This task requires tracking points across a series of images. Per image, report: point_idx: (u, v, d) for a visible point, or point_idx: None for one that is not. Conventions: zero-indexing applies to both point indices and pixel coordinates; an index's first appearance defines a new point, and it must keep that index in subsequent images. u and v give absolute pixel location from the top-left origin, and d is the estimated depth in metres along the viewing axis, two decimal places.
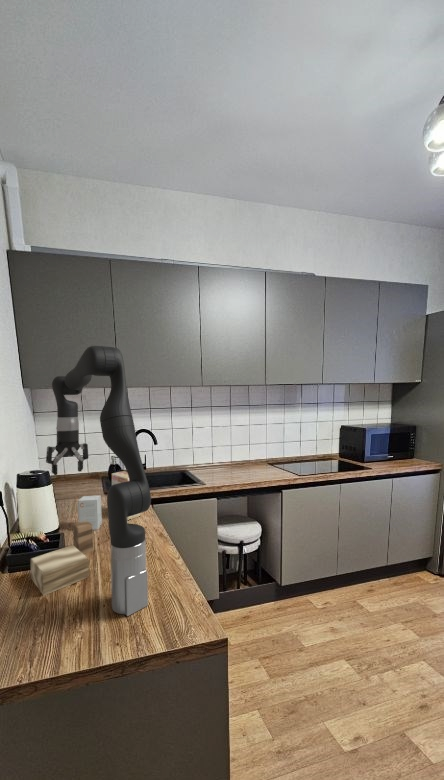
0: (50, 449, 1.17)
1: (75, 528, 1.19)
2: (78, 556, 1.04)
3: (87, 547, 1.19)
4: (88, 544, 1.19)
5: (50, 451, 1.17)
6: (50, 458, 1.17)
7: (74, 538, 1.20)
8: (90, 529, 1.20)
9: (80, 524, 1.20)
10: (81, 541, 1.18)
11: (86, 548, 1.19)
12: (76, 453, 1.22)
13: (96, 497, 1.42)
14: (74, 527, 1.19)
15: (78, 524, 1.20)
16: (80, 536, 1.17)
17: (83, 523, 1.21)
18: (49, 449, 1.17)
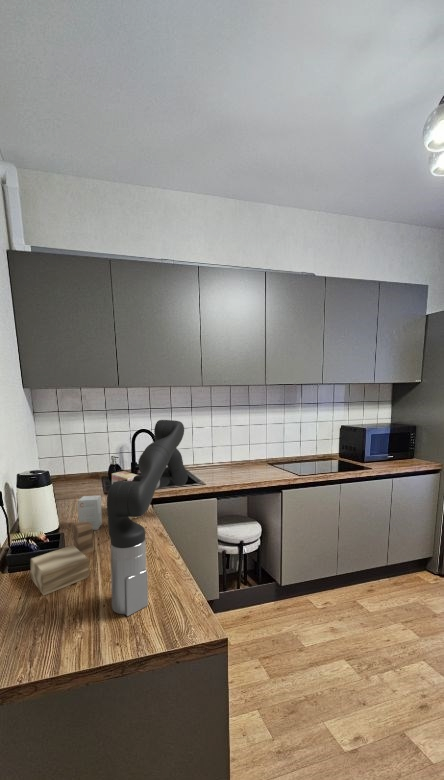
0: (124, 480, 1.39)
1: (75, 528, 1.19)
2: (78, 556, 1.04)
3: (87, 547, 1.19)
4: (88, 544, 1.19)
5: (123, 480, 1.39)
6: (117, 481, 1.37)
7: (74, 538, 1.20)
8: (90, 529, 1.20)
9: (80, 524, 1.20)
10: (81, 541, 1.18)
11: (86, 548, 1.19)
12: None
13: (96, 497, 1.42)
14: (74, 527, 1.19)
15: (78, 524, 1.20)
16: (80, 536, 1.17)
17: (82, 523, 1.21)
18: (124, 480, 1.40)
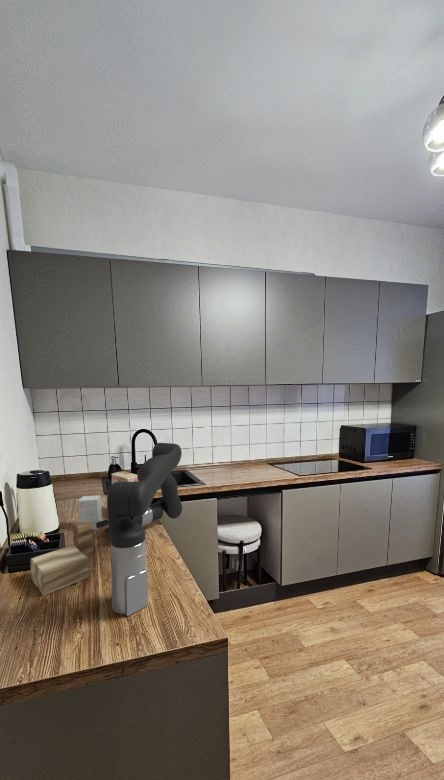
0: None
1: (75, 528, 1.19)
2: (78, 556, 1.04)
3: (87, 547, 1.19)
4: (88, 544, 1.19)
5: None
6: None
7: (74, 538, 1.20)
8: (90, 529, 1.20)
9: (80, 524, 1.20)
10: (81, 541, 1.18)
11: (86, 548, 1.19)
12: None
13: (96, 497, 1.42)
14: (74, 527, 1.19)
15: (78, 524, 1.20)
16: (80, 536, 1.17)
17: (83, 523, 1.21)
18: None
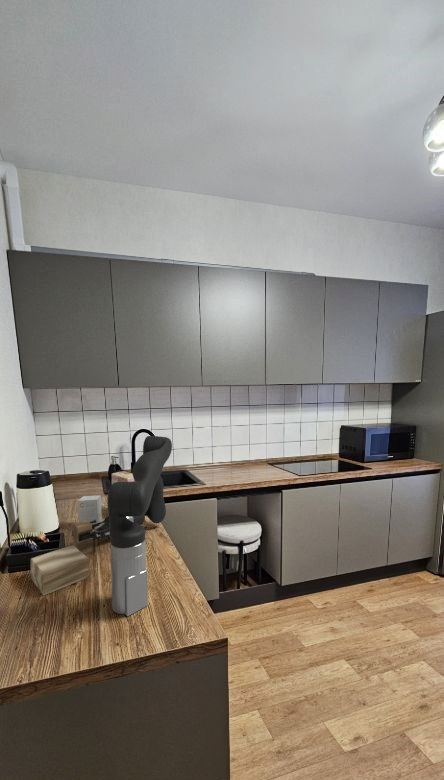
0: (93, 520, 1.29)
1: (75, 528, 1.19)
2: (78, 556, 1.04)
3: (87, 547, 1.19)
4: (88, 544, 1.19)
5: (92, 521, 1.29)
6: None
7: (73, 538, 1.20)
8: (90, 529, 1.20)
9: (80, 524, 1.20)
10: (81, 541, 1.18)
11: (86, 548, 1.19)
12: (97, 526, 1.22)
13: (96, 497, 1.42)
14: (74, 527, 1.19)
15: (78, 524, 1.20)
16: None
17: (82, 523, 1.21)
18: (93, 520, 1.29)
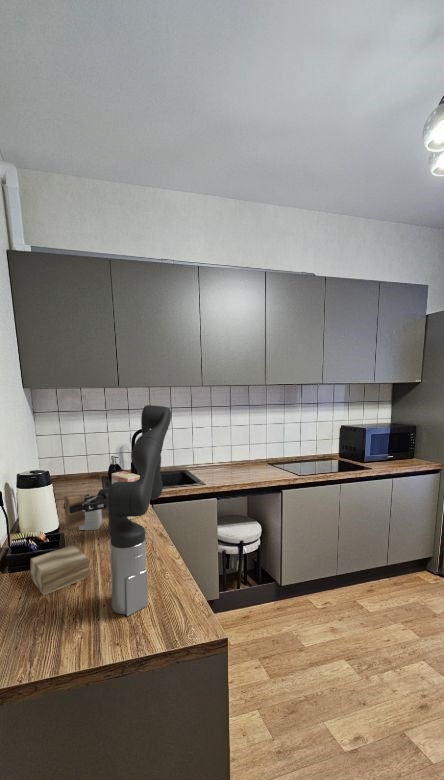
0: (86, 495, 1.23)
1: (66, 500, 1.13)
2: (78, 556, 1.04)
3: (79, 519, 1.13)
4: (80, 516, 1.13)
5: (85, 495, 1.23)
6: None
7: (65, 511, 1.14)
8: (82, 501, 1.14)
9: (72, 496, 1.14)
10: (73, 513, 1.12)
11: (78, 521, 1.13)
12: (90, 499, 1.16)
13: None
14: (65, 499, 1.14)
15: (70, 496, 1.14)
16: None
17: (74, 495, 1.15)
18: (86, 495, 1.24)
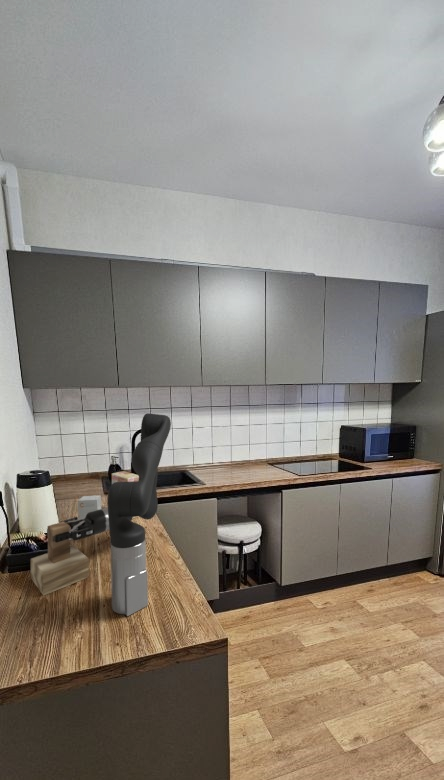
0: (74, 517, 1.13)
1: (49, 530, 1.02)
2: (78, 556, 1.04)
3: (64, 552, 1.02)
4: (64, 549, 1.02)
5: (72, 518, 1.12)
6: (65, 521, 1.10)
7: (48, 542, 1.03)
8: (67, 531, 1.03)
9: (56, 526, 1.03)
10: (56, 546, 1.01)
11: (62, 554, 1.02)
12: (77, 525, 1.05)
13: (96, 497, 1.42)
14: (48, 529, 1.03)
15: (53, 526, 1.03)
16: None
17: (59, 524, 1.04)
18: (74, 517, 1.13)
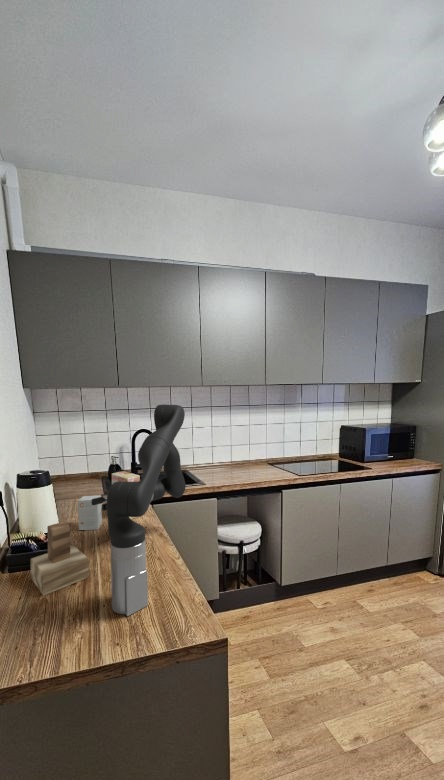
0: None
1: (49, 530, 1.02)
2: (78, 556, 1.04)
3: (64, 552, 1.02)
4: (64, 549, 1.02)
5: None
6: (106, 494, 1.22)
7: (48, 542, 1.03)
8: (67, 531, 1.03)
9: (55, 526, 1.03)
10: (56, 546, 1.01)
11: (62, 554, 1.02)
12: None
13: (96, 497, 1.42)
14: (48, 529, 1.03)
15: (53, 526, 1.03)
16: (54, 539, 1.00)
17: (59, 524, 1.04)
18: None
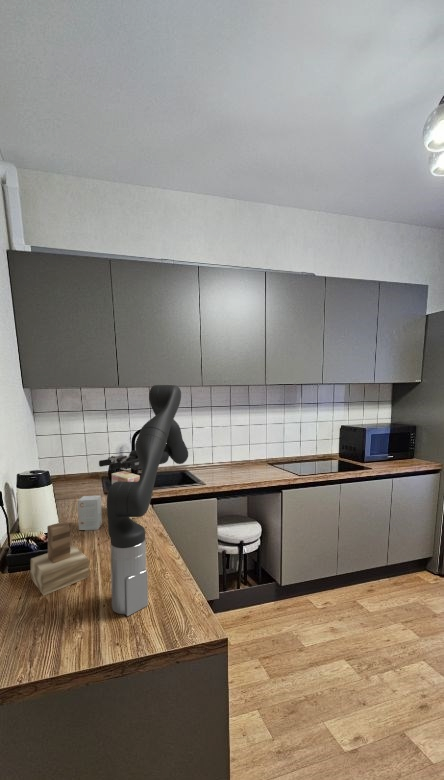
0: None
1: (49, 530, 1.02)
2: (78, 556, 1.04)
3: (64, 552, 1.02)
4: (64, 549, 1.02)
5: (118, 456, 1.29)
6: (112, 457, 1.27)
7: (48, 542, 1.03)
8: (67, 531, 1.03)
9: (55, 526, 1.03)
10: (56, 546, 1.01)
11: (62, 554, 1.02)
12: (125, 458, 1.22)
13: (96, 497, 1.42)
14: (48, 529, 1.03)
15: (53, 526, 1.03)
16: (54, 539, 1.00)
17: (59, 524, 1.04)
18: None
